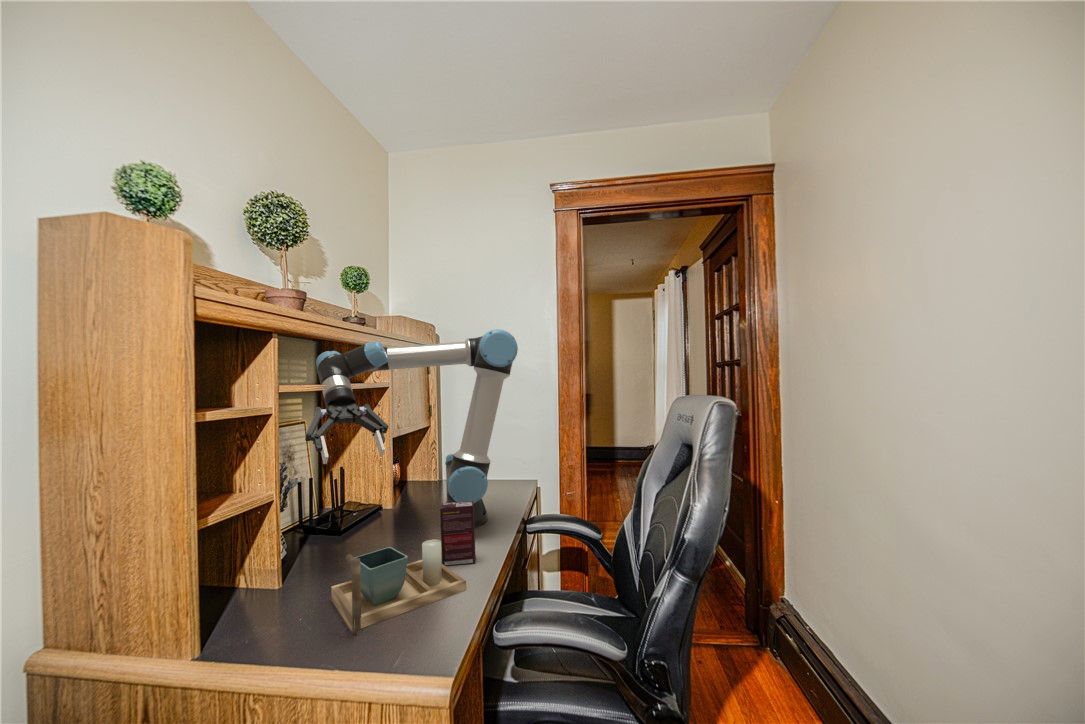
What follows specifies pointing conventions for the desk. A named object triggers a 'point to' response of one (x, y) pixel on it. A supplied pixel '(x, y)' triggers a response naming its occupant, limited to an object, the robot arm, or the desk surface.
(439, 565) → the pillar candle
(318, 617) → the desk surface
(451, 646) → the desk surface
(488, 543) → the desk surface
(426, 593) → the caddy
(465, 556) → the supplement box
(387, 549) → the flower pot
